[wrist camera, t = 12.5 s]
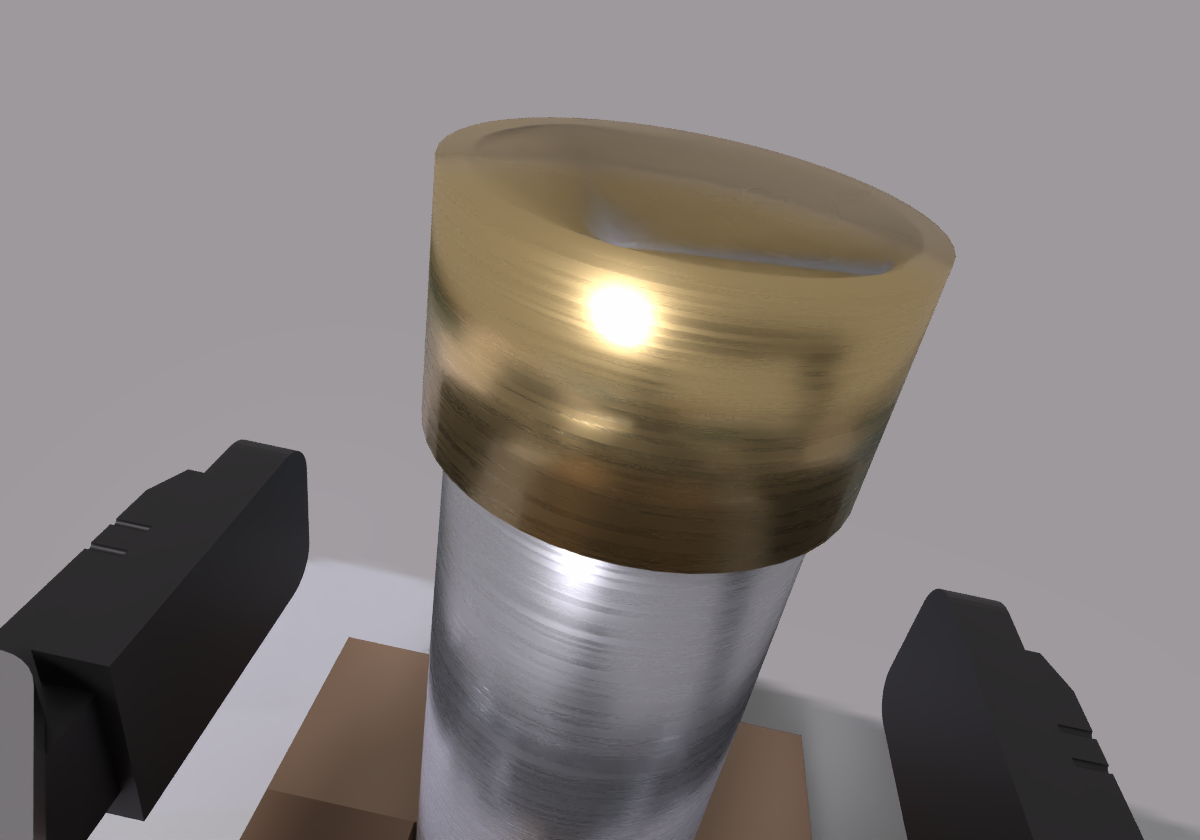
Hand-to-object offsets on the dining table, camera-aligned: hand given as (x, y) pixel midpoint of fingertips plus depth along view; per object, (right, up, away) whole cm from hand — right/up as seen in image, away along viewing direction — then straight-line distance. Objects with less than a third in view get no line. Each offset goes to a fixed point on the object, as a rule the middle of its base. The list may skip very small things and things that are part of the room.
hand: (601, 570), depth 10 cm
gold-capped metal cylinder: (-2, -10, +4) cm, 11 cm away
